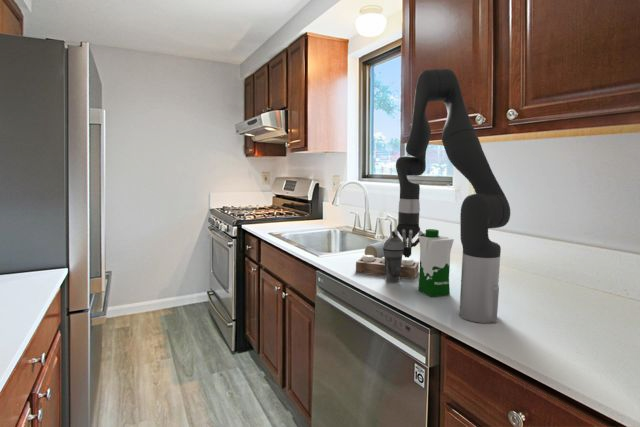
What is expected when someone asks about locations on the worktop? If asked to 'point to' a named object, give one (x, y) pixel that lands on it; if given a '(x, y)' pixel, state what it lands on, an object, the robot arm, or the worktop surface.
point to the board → (379, 268)
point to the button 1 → (368, 258)
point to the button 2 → (407, 262)
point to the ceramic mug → (375, 250)
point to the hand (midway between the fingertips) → (407, 256)
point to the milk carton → (434, 263)
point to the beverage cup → (393, 258)
